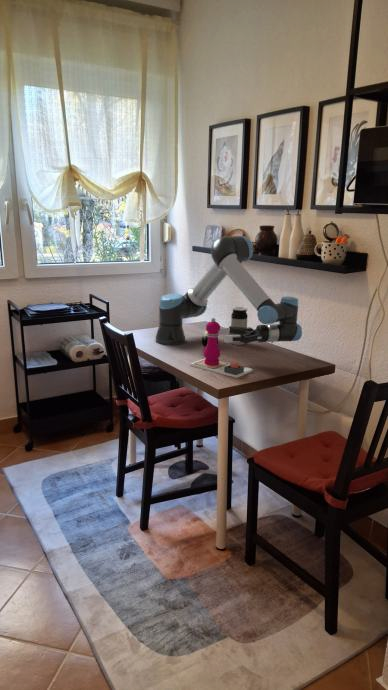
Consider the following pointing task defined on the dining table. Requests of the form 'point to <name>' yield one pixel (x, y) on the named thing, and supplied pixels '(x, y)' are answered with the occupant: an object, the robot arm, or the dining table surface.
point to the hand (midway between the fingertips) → (219, 335)
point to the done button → (234, 365)
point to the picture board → (222, 368)
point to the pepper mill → (212, 343)
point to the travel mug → (239, 320)
